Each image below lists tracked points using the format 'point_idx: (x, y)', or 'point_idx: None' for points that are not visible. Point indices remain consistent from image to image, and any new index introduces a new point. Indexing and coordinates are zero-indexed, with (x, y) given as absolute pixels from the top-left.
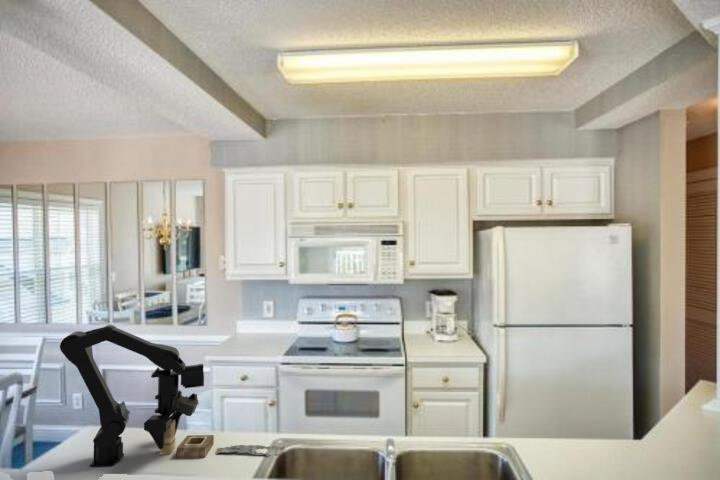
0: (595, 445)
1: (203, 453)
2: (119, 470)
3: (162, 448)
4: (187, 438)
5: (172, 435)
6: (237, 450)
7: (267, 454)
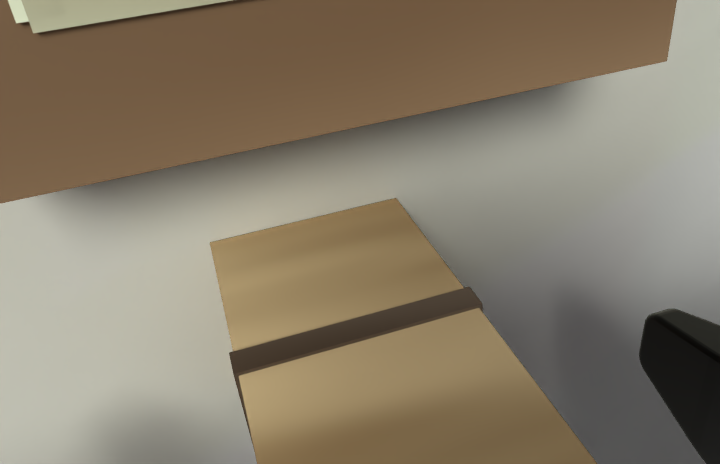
0: None
1: None
2: None
3: (673, 310)
4: (116, 92)
5: (450, 441)
6: None
7: None
